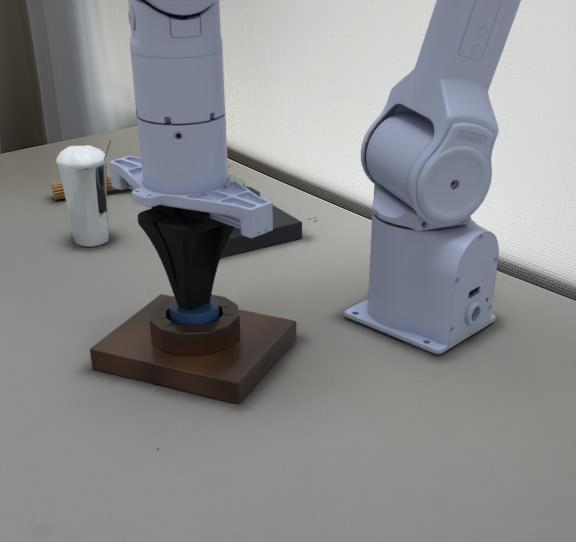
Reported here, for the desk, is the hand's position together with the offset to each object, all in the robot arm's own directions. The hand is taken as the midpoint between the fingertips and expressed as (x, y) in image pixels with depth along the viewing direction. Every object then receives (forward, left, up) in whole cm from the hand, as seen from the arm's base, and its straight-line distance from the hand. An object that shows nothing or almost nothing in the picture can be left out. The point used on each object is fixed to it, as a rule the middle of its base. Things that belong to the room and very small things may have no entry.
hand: (194, 303), depth 63 cm
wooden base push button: (0, 0, -4) cm, 4 cm away
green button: (+17, -19, -1) cm, 26 cm away
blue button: (0, 0, -2) cm, 2 cm away
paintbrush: (+33, -21, -4) cm, 39 cm away
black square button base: (+17, -19, -4) cm, 26 cm away
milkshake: (+24, -8, -4) cm, 26 cm away
